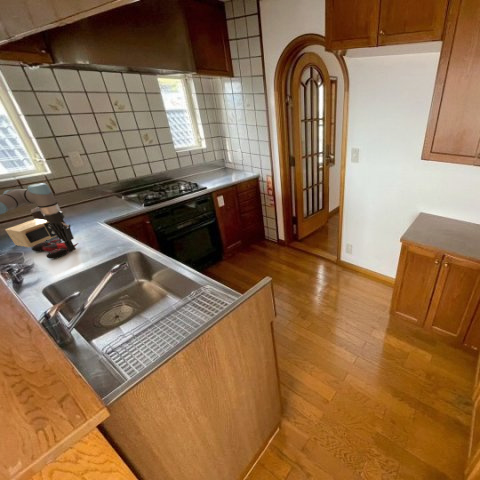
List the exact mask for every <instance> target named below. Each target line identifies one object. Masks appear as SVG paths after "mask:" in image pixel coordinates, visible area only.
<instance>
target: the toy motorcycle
mask: <svg viewBox="0 0 480 480" xmlns="http://www.w3.org/2000/svg"><path fill="white" fill-rule="evenodd" d="M78 244H79V242H77V243H75V244H73V245H74V247H75V248H76V247H77V246H78ZM31 250H32V251H33V252H37V253H38V252H46V253H47V254H46V258H47V259H50V258H54V259H58V258H61V257H63V256H65V255H66V254H67V251H69V250H68V248H67V246H66V245H65V243H64V241H62V240H60V239H59V238H57V239H51V240H50V241H49V242H48V241H44V242H42V243H39V244H36V245H35V246H32V247H31ZM64 254H65V255H64ZM62 255H63V256H62ZM60 256H61V257H60ZM57 257H58V258H57Z"/></svg>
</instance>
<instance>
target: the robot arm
mask: <svg viewBox="0 0 480 480" xmlns="http://www.w3.org/2000/svg"><path fill="white" fill-rule="evenodd" d="M54 197H55V196H54V194H53V192H52V190H51V188H50V187H49V185H48V184H46V183H34V184H30V185H27V188H12V189H7V190H4V191H3V193H2V194H0V215H3V214H5V213H7V212H9V211H12V210H14V209H17V208H19V207H21V206H24V205H28V204H29V205H30V204H36V206H37V205H38V206H37V207H39V209H40V211H41V213H42V214H44V215H43V216H44V218H45V220H46V221H47V222H50V224H48V226H49V227H50V228H51V229H52V230H53V231H54V233H55V234H56V235H57V237H56V238H57V239H60V240H61V241H62V242H64V243H65V245H66V246H67V248H68V250H67V251H69V252H73V251H75V250H76V246H75V247H74V245H75V244H74V243H73V241H72V240H74V236H73V233H72V230H71V225H70V224H69V223H68V224H66V221H64V218H65V215H64V213H63V211H61V208H60V205H59V203H58V202H57V200H56V197H55V198H54Z"/></svg>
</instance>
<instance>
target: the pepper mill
mask: <svg viewBox="0 0 480 480" xmlns="http://www.w3.org/2000/svg"><path fill="white" fill-rule="evenodd" d="M54 198H55V199H56V197H55V196H54ZM30 214H31V216H32V217H33V220H34V219H43V220H45V218H44V216H43V215H44V214H42V213H41V211H40V209H39V207H38V205H37V204H36V207H34V208H31V209H30Z"/></svg>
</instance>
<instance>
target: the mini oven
mask: <svg viewBox="0 0 480 480" xmlns="http://www.w3.org/2000/svg"><path fill="white" fill-rule="evenodd" d="M48 224H50V222H47V221H46V220H43V219H34V218H33V219H31V220H28V221H26V222H23V223H20V224H16V225H14V226H10V227H8V228H5V229H4V230H5V232H6V233H7V235H8V236H9V238H10V239H11V241H12V242H13V244H14V245H15V246H16V245H17V246H18V247H23V246H24V248H29V247H30V248H33V246H35V245H36V244H39V243H43V242H47V241H49V240H52V239H54V238H57V237H56V236H57V235H56V234H55V233H54V231H53V230H52V229H51V228H50V227H49V226H48ZM53 237H54V238H53ZM51 238H52V239H51ZM46 240H47V241H46Z"/></svg>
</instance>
